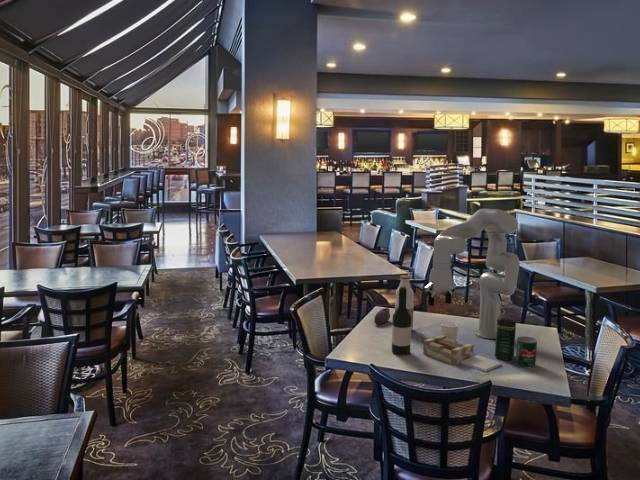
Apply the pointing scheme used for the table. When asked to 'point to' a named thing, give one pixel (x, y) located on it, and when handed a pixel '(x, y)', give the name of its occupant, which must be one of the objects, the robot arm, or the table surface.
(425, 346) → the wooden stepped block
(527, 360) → the canned tomato
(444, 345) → the wooden block
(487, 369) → the ceramic coaster
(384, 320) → the perforated stone tool
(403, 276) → the fruit juice
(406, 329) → the wine bottle
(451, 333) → the white cup
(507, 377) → the table surface
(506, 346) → the coffee jar
